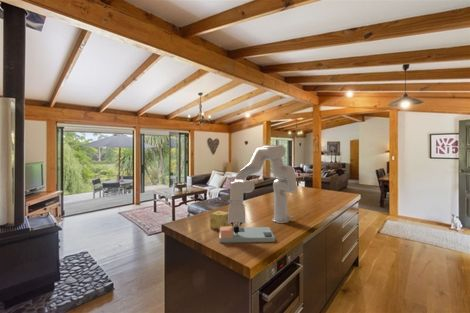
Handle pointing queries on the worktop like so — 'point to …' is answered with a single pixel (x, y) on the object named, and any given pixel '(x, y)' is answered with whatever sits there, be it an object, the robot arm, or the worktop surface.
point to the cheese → (218, 219)
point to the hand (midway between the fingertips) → (236, 233)
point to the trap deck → (250, 235)
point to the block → (226, 232)
